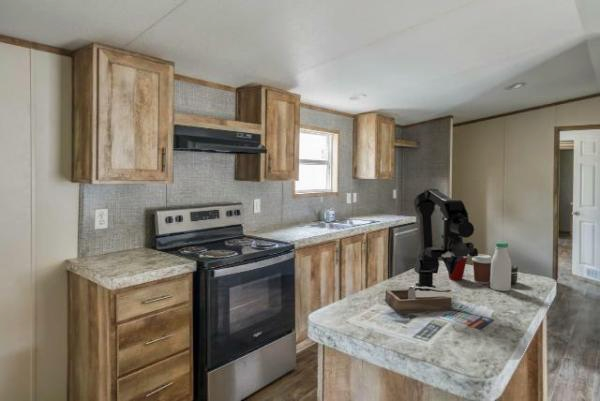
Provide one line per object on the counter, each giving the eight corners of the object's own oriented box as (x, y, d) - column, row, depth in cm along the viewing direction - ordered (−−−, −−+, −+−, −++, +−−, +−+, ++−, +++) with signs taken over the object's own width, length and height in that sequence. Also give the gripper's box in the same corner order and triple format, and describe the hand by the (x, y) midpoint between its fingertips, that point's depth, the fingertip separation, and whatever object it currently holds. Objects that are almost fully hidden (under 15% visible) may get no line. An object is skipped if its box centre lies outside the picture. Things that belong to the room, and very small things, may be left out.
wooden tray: (384, 300, 145) (384, 289, 145) (432, 298, 148) (433, 287, 148) (399, 313, 131) (399, 301, 131) (452, 310, 134) (452, 298, 134)
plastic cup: (440, 279, 175) (440, 253, 174) (447, 274, 183) (447, 250, 183) (464, 283, 168) (465, 257, 167) (470, 278, 177) (471, 253, 176)
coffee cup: (475, 277, 177) (476, 252, 176) (496, 281, 171) (497, 255, 170) (467, 281, 171) (468, 255, 170) (488, 285, 164) (489, 259, 164)
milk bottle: (513, 292, 156) (515, 244, 154) (493, 291, 157) (494, 244, 156) (506, 286, 163) (508, 241, 162) (487, 285, 165) (489, 240, 163)
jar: (517, 281, 172) (518, 264, 171) (516, 286, 164) (517, 269, 163) (493, 277, 177) (494, 262, 177) (491, 283, 169) (491, 266, 168)
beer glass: (453, 307, 137) (415, 306, 134) (443, 303, 144) (406, 302, 141) (454, 288, 137) (416, 286, 135) (443, 285, 144) (407, 284, 142)
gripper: (439, 237, 130) (438, 281, 131) (488, 236, 133) (487, 279, 134) (424, 232, 141) (423, 273, 142) (469, 231, 144) (468, 271, 145)
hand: (450, 274), depth 141 cm, fingers closed
